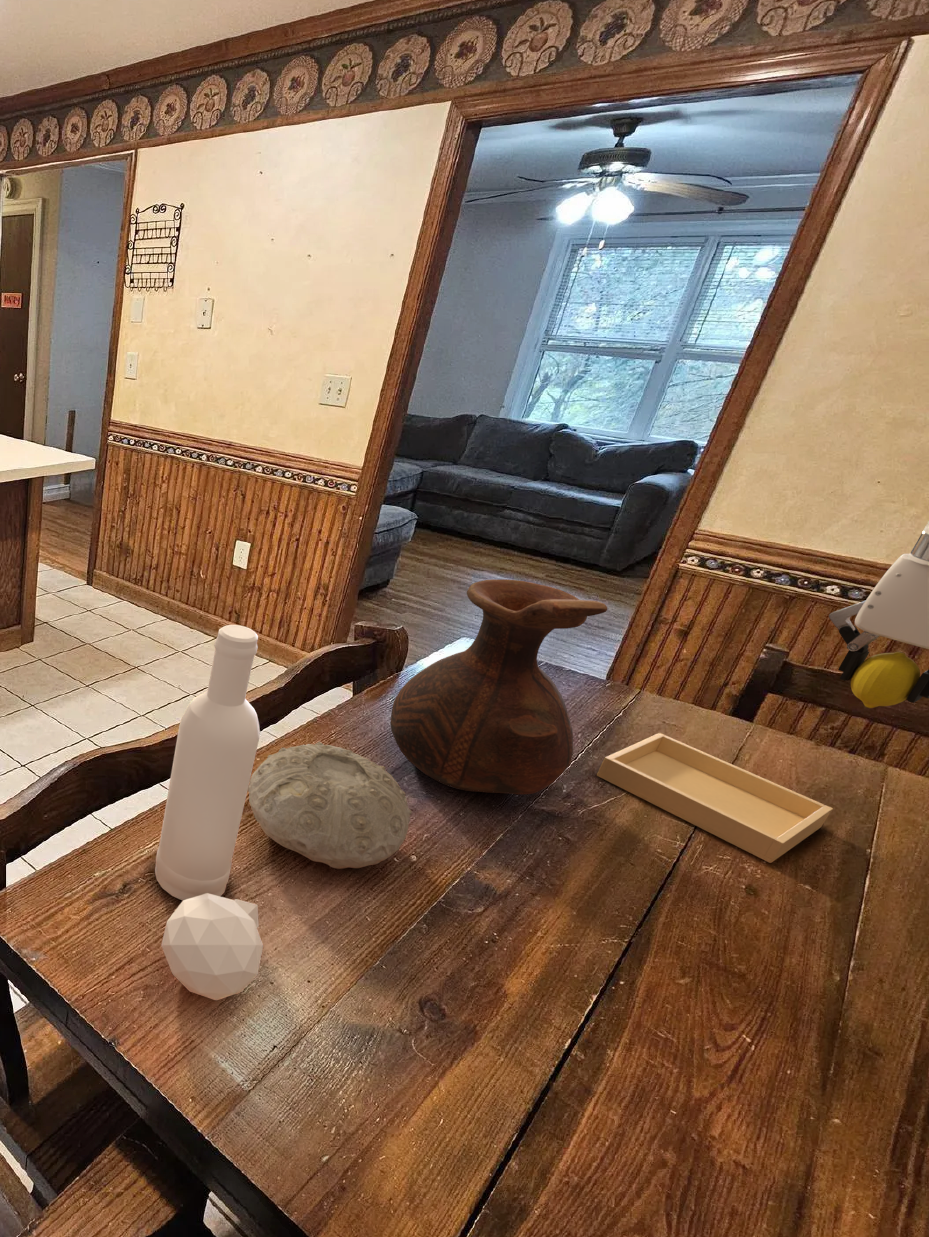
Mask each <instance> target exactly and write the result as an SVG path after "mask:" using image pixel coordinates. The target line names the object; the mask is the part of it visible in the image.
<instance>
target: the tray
mask: <svg viewBox="0 0 929 1237" xmlns="http://www.w3.org/2000/svg"><path fill="white" fill-rule="evenodd" d="M596 776H597V777H599V778H600V779H602V780H605V781H606V782H609V783H610V784H612V785H614V786H616V787H619V788H620V789H622V790H624V791H626V792H628V793H630V794H632V795H634V796H636V797H638V798H640V799H642V800H644V801H646V802H648V803H650V804H652V805H654V806H656V807H658V808H660V809H661V810H664V811H666V812H668V813H670V814H672V815H674V816H676V817H677V818H679V819H682V820H683V821H685V822H688V823H689V824H691V825H693V826H696V827H697V828H700V829H701V830H703V831H705V832H708V833H709V834H711V835H714V836H716V837H717V838H720V839H721V840H723V841H725V842H727V843H729V844H732V845H733V846H735V847H736V848H739V849H741V850H743V851H745V852H747V853H749V854H751V855H753V856H754V857H757V858H759V859H761V860H762V861H765V862H767V863H769V864H771V863H773V862H774V861H776V860H777V859H779V858H780V857H782V856H783V855H784V854H786V853H787V852H788V851H790V850H791V849H793V848H794V847H796V846H798V845H799V844H800V843H802V841H804V840H805V839H806V838H809V836H811V835H812V834H814V833H815V832H816V831H818V830H819V829H820V828H822V826H823V825H824V823H825V822H826V821H827V819H828V818H829V816H830V815H831V813H832V811H833V810H834V808H833V807H831V806H829V805H827V804H824V803H821V802H820V801H817V800H815V799H812V798H810V797H808V796H806V795H803V794H801V793H799V792H796V791H795V790H793V789H789V788H787V787H785V786H782V785H781V784H778V783H776V782H773V781H771V780H769V779H767V778H764V777H763V776H759V775H757V774H755V773H753V772H750V771H748V770H746V769H744V768H742V767H739V766H737V765H735V764H732V763H730V762H728V761H726V760H724V759H721V758H718V757H717V756H713V755H711V754H709V753H707V752H705V751H702V750H700V749H698V748H695V747H693V746H691V745H688V744H686V743H684V742H683V741H680V740H678V739H675V738H672V737H671V736H668V735H666V734H663V733H662V732H658V733H655V734H654V735H652V736H649V737H647V738H645V739H643V740H640V741H638V742H636V743H634V744H632V745H630V746H627V747H625V748H623V749H621V750H618V751H616V752H613V753H611V754H610V755H607V756H605V757H604V759H603V761H602V763H601V764H600V767H599V769H598V771H597V773H596Z"/></svg>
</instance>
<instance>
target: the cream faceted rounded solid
mask: <svg viewBox="0 0 929 1237" xmlns="http://www.w3.org/2000/svg"><path fill="white" fill-rule="evenodd" d="M259 923H260V922H259V906H258V904H256V903H253V902H250V901H246V900H242V899H238V898H235V899H231V898H228V897H224V896H216V895H212V894H209V893H206V894H203V895H199V896H196V897H193V898H190V899H186V900H181V902H180V903H179V905H178V906H177V907H176V909H175V910H174V911H173V913H172V914H171V915H170V917H169V918H168V919H167V921H166V924H165V928H164V932H163V936H162V941H161V945H160V946H161V949H162V952H163V953H164V956H165V959H166V962H167V964H168V967H169V970H170V971H171V974H172V976H173V977H175V979H177V980H178V982H180V983H181V984H182V985H183V987H184V988H186V990H188V992H191V993H193V994H196V995H199V996H202V997H205V998H208V999H210V1000H213V1001H219V1000H222V999H225V998H228V997H231V996H234V995H237V994H239V993H242V992H243V991H244V990H245V989H246V988H247V987H248V985H250V983H252V981H253V980H254V979H255V978H256V977H257V976H259V970H260V965H261V959H262V955H263V949H264V943H263V941H262V938H261V935H260V933H259V930H258V928H259V927H260V924H259Z"/></svg>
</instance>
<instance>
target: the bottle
mask: <svg viewBox="0 0 929 1237" xmlns="http://www.w3.org/2000/svg"><path fill="white" fill-rule="evenodd" d="M258 640H259V636H258V634H257V633H256V631H255V630H253V629H252V628H250V627H248V626H244V625H240V624H227V625H224V626H222V627H220V628H219V629H218V632H217V637H216V638H215V640H214V642H213V643H214V644H213V645H214V654H213V658H212V663H211V670H210V675H209V680H208V685H207V686H208V687H207V691H205V692H203V693H201V694H199V695H197V696H196V697H194V698H192V699H191V701H190V702H189V703H188V705H187V707H186V708H185V710H184V712H183V714H182V715H181V718H180V721H179V726H178V731H177V737H176V743H175V748H174V755H173V759H172V760H173V761H172V767H171V771H170V779H169V784H168V790H167V796H166V801H165V802H166V803H165V808H164V813H163V814H164V815H163V821H162V826H161V832H160V837H159V844H158V847H157V851H156V855H155V867H154V874H155V879H156V881H157V883H158V884H159V886H160V887H161V888H162V889H163V890H164V891H165V892H166V893H168V894H169V895H170V896H172V897H174V898H176V899H178V900H181V901H183V900H186V899H190V898H193V897H196V896H199V895H203V894H206V893H209V894H212V895H216V896H220V897H222V895H223V894H224V893H226V888H227V884H228V882H229V879H230V875H231V870H232V865H233V862H232V861H233V857H234V852H235V848H236V843H237V839H238V835H239V830H240V825H241V822H242V817H243V813H244V809H245V808H244V807H245V803H246V800H247V794H248V787H249V784H250V779H251V776H252V774H253V773H252V772H253V769H254V763H255V760H256V755H257V751H258V747H259V746H258V745H259V742H260V738H261V737H260V736H261V730H260V722H259V718H258V714H257V712H256V710H255V708H254V706H252V704H251V703H250V702H249V701H248V700H247V698H246V696H247V692H248V687H249V682H250V678H251V672H252V668H253V663H254V660H255V659H254V658H255V656H256V655H257V652H258V648H259V646H258Z"/></svg>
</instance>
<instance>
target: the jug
mask: <svg viewBox="0 0 929 1237" xmlns="http://www.w3.org/2000/svg"><path fill="white" fill-rule="evenodd" d="M466 596H467V598H468V600H469V601H470V602H471V603H472V604H473V605H474V606H476V607H477V608H479V609H481V610H482V621H481V625H480V627H479V630H478V633H477V634H476V637H475V639H474V641H473V642H472V643H471V644H470V645H469V646H468V647H467V648H466V649H465V650H464V651H460V652H457V653H454V654H451V655H449V656H446V657H443V658H441V659H438V660H436V661H435V662H433V663H431V664H429V665H428V666H426V667H425V668H423V669H422V670H420V671H419V672H418V673H416V674H415V675H414V676H413V677H412V678H410V679H409V680H408V681H407V682H406V683H405V684H404V685H403V686H402V688H400V690H399V691H398V693H397V695H396V696H395V698H394V700H393V704H392V707H391V712H390V731H391V734H392V737H393V738H394V741H395V743H396V745H397V747H398V749H399V750H400V752H401V753H402V755H404V757H405V758H406V760H408V761H409V762H410V763H411V764H412V765H413V766H415V768H417V769H418V770H419V771H420V772H422V773H423V774H424V775H426V776H427V777H429V778H431V779H432V780H434V781H436V782H438V783H440V784H442V785H444V786H447V787H449V788H453V789H457V790H461V791H466V792H472V793H473V792H475V793H490V794H493V793H494V794H511V795H531V794H532V795H533V794H535V793H538V792H541V791H542V790H544V789H545V788H547V787H548V786H550V785H551V784H553V783H554V782H556V781H557V780H558V779H559V778H560V777H561V776H562V775H563V773H564V772H565V771H566V770H567V769H568V768H569V766H570V765H571V762H572V758H573V754H574V730H573V725H572V722H571V719H570V714H569V711H568V708H567V705H566V702H565V700H564V698H563V696H562V693H561V691H560V690H559V689H558V687H557V685H556V683H555V682H554V681H553V680H552V678H551V676H549V675H548V674H547V672H545V671H544V670H543V669H542V668H541V667H540V666H539V664H538V654H539V650H540V648H541V645H542V643H543V642H544V640H545V638H546V637H548V635H549V634H550V633H551V632H552V631H553V630H566V629H573V628H578V627H580V626H582V625H583V624H584V623H585V622H586V621H587V618H588V617H592V616H597V615H601V614H604V613H606V612H608V606H607V605H606V604H605V603H604V602H601V601H597V600H590V599H580V598H578V597H576V596H575V595H573V594H571V593H569V592H566V591H564V590H561V589H559V588H556V587H552V586H548V585H544V584H539V583H535V582H530V581H526V580H519V579H510V578H509V579H508V578H507V579H505V578H504V579H502V578H501V579H500V578H499V579H498V578H497V579H495V578H494V579H483V580H479V581H476V582H473V583H472V584H470V585H469V586H468V589H467V591H466Z"/></svg>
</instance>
